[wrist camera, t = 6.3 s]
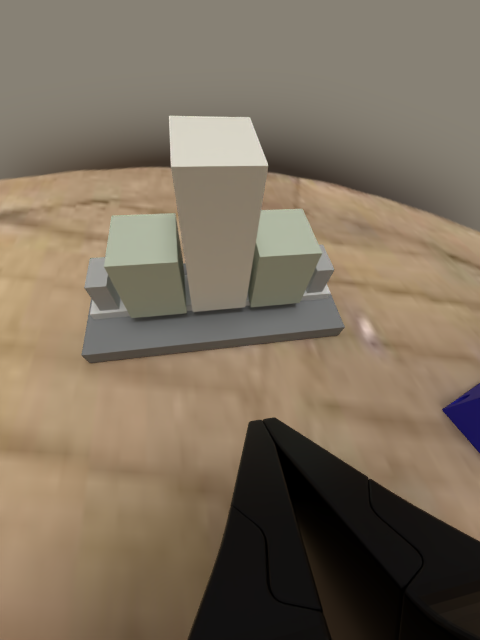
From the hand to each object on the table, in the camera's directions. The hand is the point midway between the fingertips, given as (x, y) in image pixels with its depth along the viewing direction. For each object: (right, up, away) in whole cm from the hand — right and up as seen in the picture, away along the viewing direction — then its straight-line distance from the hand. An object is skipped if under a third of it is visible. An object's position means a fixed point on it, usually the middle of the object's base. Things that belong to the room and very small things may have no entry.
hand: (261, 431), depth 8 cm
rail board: (-3, +5, +17) cm, 18 cm away
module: (-3, +7, +15) cm, 17 cm away
